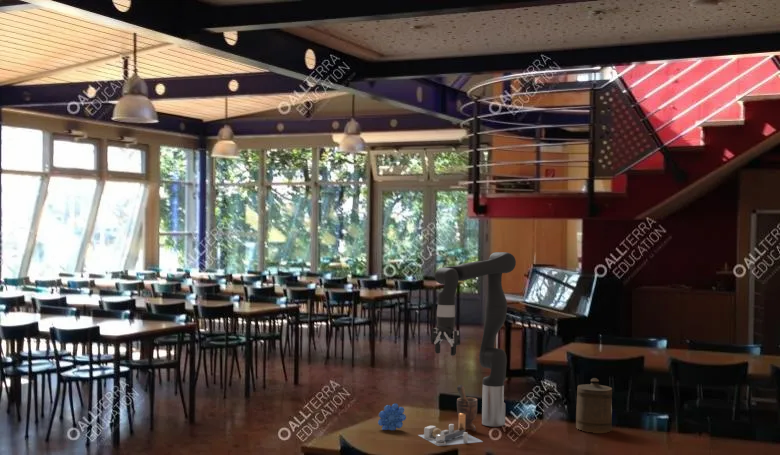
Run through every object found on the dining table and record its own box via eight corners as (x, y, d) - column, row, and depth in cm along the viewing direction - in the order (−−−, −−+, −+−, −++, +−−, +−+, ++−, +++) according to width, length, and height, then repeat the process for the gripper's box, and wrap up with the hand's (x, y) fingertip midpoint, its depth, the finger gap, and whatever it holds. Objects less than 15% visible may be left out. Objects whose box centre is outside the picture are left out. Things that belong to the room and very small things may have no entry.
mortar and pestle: (475, 435, 324) (475, 386, 325) (454, 433, 326) (455, 385, 327) (477, 428, 336) (478, 381, 336) (457, 427, 337) (458, 380, 338)
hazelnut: (439, 436, 315) (439, 426, 315) (444, 439, 311) (444, 429, 312) (430, 437, 314) (430, 427, 314) (434, 440, 310) (435, 429, 310)
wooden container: (618, 431, 337) (619, 379, 337) (595, 435, 329) (596, 382, 329) (592, 424, 349) (592, 374, 350) (568, 428, 341) (569, 376, 341)
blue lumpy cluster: (407, 430, 330) (407, 401, 330) (404, 434, 323) (405, 405, 323) (379, 429, 331) (380, 400, 332) (376, 432, 325) (377, 403, 325)
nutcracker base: (461, 434, 325) (461, 419, 326) (483, 444, 309) (483, 429, 309) (417, 437, 317) (417, 423, 318) (438, 449, 301) (438, 433, 301)
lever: (441, 443, 302) (442, 421, 302) (432, 441, 305) (432, 420, 305) (467, 434, 318) (467, 413, 318) (458, 432, 320) (458, 412, 320)
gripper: (464, 316, 328) (464, 355, 328) (439, 313, 339) (438, 351, 338) (452, 317, 323) (452, 357, 323) (427, 314, 334) (426, 353, 333)
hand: (445, 354), depth 331 cm, fingers open, 8 cm apart
